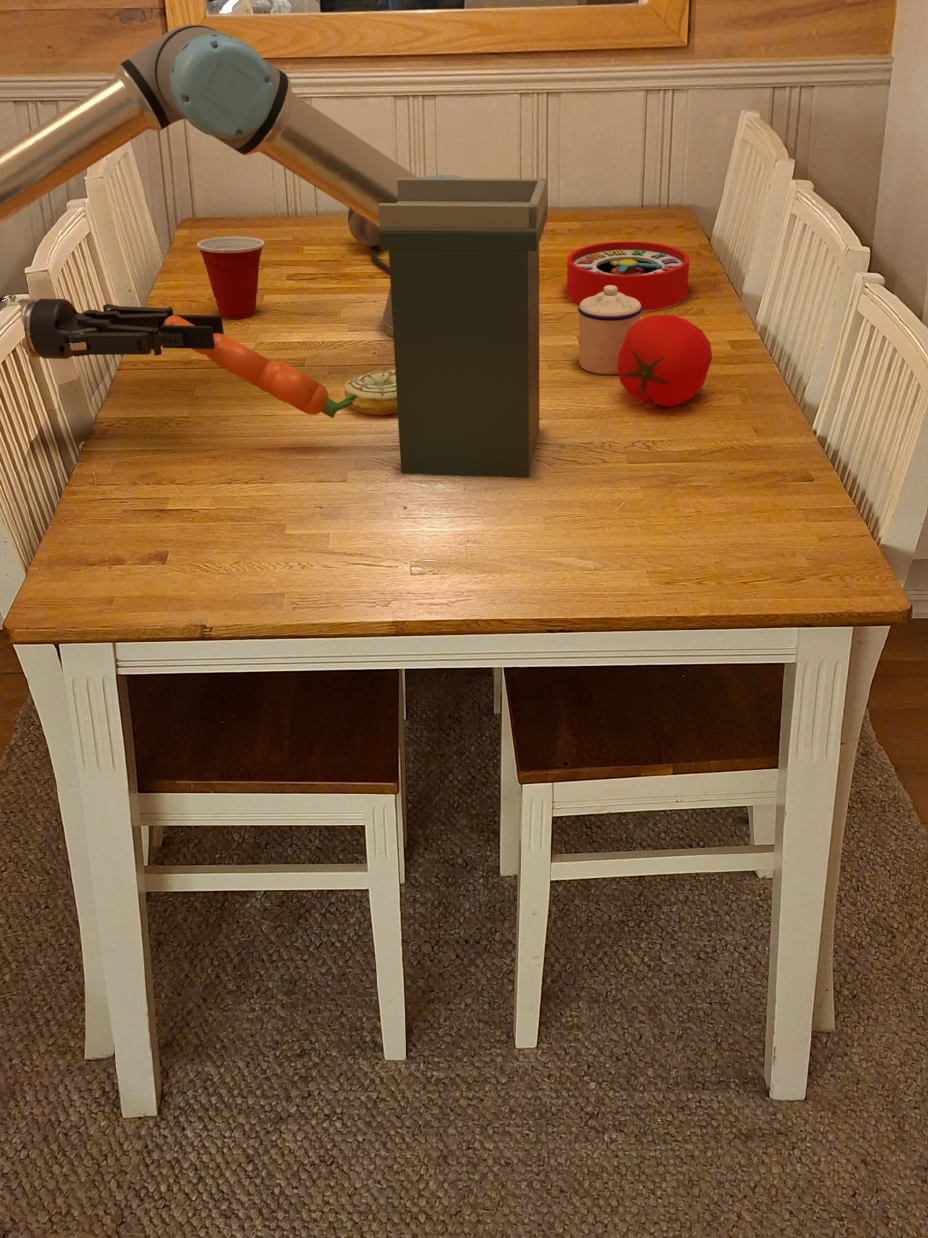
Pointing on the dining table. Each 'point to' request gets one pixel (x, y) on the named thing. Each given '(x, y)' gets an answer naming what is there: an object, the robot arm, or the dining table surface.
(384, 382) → the decorated donut
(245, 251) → the plastic cup
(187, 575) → the dining table surface
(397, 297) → the stand
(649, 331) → the tomato
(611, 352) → the teacup with lid
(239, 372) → the carrot
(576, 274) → the toy clock
